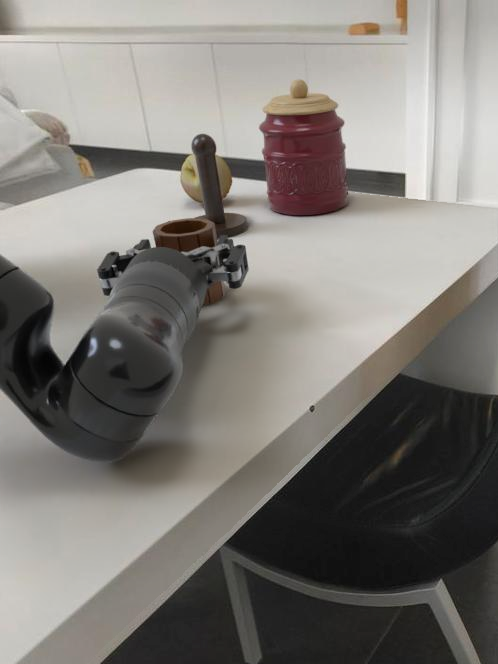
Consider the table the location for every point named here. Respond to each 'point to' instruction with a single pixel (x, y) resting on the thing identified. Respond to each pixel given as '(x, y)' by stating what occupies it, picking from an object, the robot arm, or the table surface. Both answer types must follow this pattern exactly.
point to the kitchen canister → (304, 153)
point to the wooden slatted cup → (191, 244)
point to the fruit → (191, 178)
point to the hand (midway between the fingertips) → (186, 246)
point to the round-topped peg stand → (214, 189)
